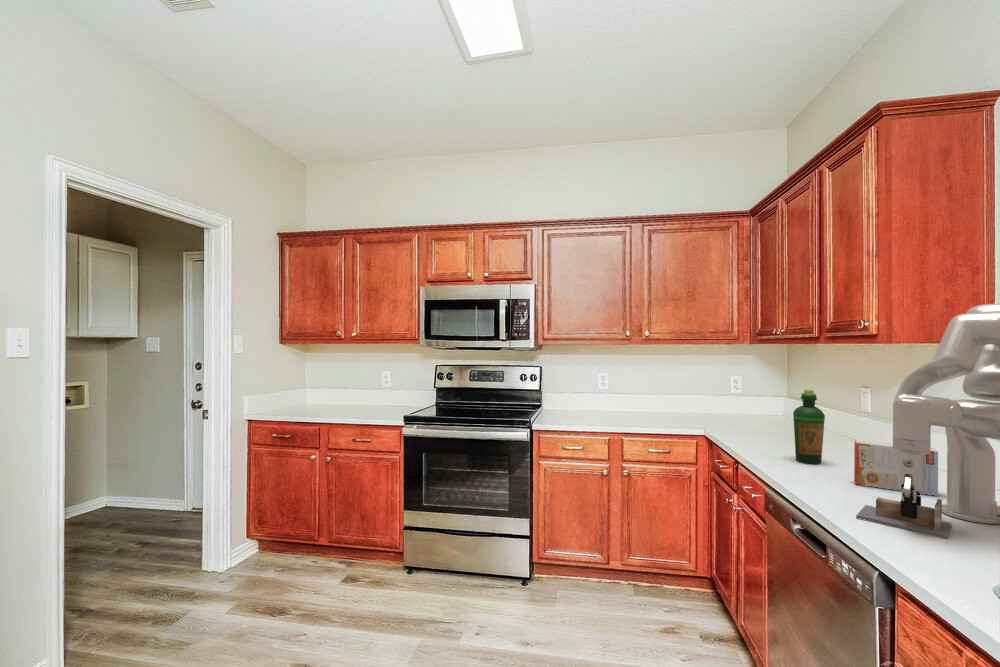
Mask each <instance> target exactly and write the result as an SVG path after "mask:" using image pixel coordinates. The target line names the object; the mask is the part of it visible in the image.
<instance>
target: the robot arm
mask: <svg viewBox="0 0 1000 667" xmlns="http://www.w3.org/2000/svg"><path fill="white" fill-rule="evenodd" d="M963 376H964V378H963V382H962V389H963V390H962V391H963V392H964V394H965V395H967V396H968V397H969V398H970V397H971V398H973V399H965V398H964V399H961V398H960V399H955V400H953V399H951V398H948V397H947V398H946V397H941V396H940V397H939V396H932V395H931V396H930V395H922V394H924V392H925V391H926V390H927V389H928V388H931V387H932V386H934V385H937V384H938V383H941V382H944V381H945V382H946V381H949V380H952V379H955V378H960V377H963ZM974 399H977V400H974ZM931 426H935V427H943V428H944V430H945V435H946V448H947V449H946V450H947V451H946V452H947V454H946V457H947V458H946V503H942V514H944V515H947V516H950V517H952V518H956V519H960V520H964V521H968V522H972V523H973V522H974V523H981V524H991V525H996V524H1000V505H998V501H996V453H995V450H994V448H993V446H992V445H991V443H990V442H989V441H988V439H993V440H999V441H1000V302H999V303H987V304H986V303H985V304H979V305H975V306H972V307H971V308H969V309H967V311H966V313H961V314H957V315H955V316H953V317H952V318H951V319H950V321H949V322H948V324H947V326H946V328H945V331H944V332H943V335H942V337H941V340H940V341H939V344H938V346H937V349H936V352H934V356H933V357H932V359H931V360H929V361H928V362H926V363H924V364H922V365H920V366H919V367H917V368H916V369H915V370H914V371H912V372H911V373H909V374H908V375H907V376H906V377H905V378H904V379H903V380H902V382H901V383H900V386H899V388H898V390H897V392H896V395H895V397H894V400H893V402H892V444H893V449H894V450H896V451H898V485H899V488H900V489H901V490H902V491H901V496H900V497H901V500H900V502H901V516H903V517H908V518H912V519H917V505H919V506H922V496H921V494H920V493H923V492H924V491H925V489H926V487H927V477H926V454H930V448H931V446H932V445H931Z"/></svg>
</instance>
